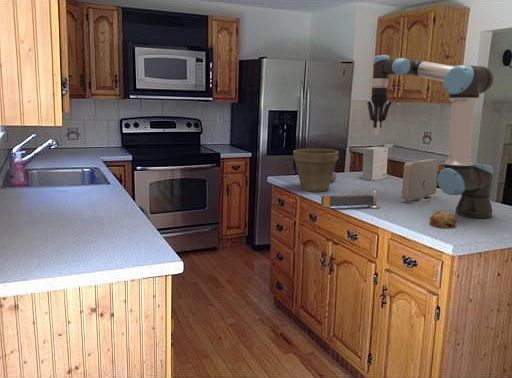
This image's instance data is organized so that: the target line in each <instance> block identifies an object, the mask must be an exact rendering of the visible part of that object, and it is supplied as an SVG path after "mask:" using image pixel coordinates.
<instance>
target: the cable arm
mask: <svg viewBox="0 0 512 378" xmlns="http://www.w3.org/2000/svg"><path fill="white" fill-rule="evenodd" d="M320 199H321V200H320V205H321V207H323V208H326V207H327V208H329V207H331V208H333V207H350V206H367V205H371V203H372V194H360V195H359V194H346V195H344V194H343V195H341V194H340V195H321V198H320Z"/></svg>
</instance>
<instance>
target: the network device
mask: <svg viewBox="0 0 512 378" xmlns="http://www.w3.org/2000/svg"><path fill="white" fill-rule="evenodd" d="M439 163H440V162H439V159H434V158H427V159H422V160H421V159H420V160H415V161H414V160H413V161H406V162H405V163H404V165H403V173H402V175H403V177H402V187H401V198H402V202H405V203H409V204H410V203H411V204H421V203H425V202H429V201H433V200H434V199H435V197H433V196H432V195H436V192H437V185H438V181H437V178H438V174H439V165H440V164H439ZM426 198H427V199H426ZM413 200H415V201H413Z"/></svg>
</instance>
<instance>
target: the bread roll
mask: <svg viewBox="0 0 512 378" xmlns="http://www.w3.org/2000/svg"><path fill="white" fill-rule="evenodd" d="M429 223H430V225H431V226H432V227H436V228H438V229H439V228H440V229H441V228H442V229H452V228H455V227H456V225H457V220H456V218H455V216H454V215H453V214H452V212H449V211H446V210H439V211H436V212H434V213H432V214H431V216H429Z"/></svg>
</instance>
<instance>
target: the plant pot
mask: <svg viewBox="0 0 512 378" xmlns="http://www.w3.org/2000/svg"><path fill="white" fill-rule="evenodd" d="M292 155H293V156H292V158H293V160H294V161H295V167H296V171H297V174H298V175H297V176H298V179H299V183H300V188H301V189H302V190H303V191H305V192H313V193H316V192H317V193H319V192H322V193H323V192H326V191H328V190H329V187H330V184H331V183H330V181H331V178H332V175H333V171H334V172H335V167H336V165H337V161H338V160H339V150H335V149H327V148H326V149H325V148H324V149H323V148H301V149H294V150H292Z"/></svg>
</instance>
